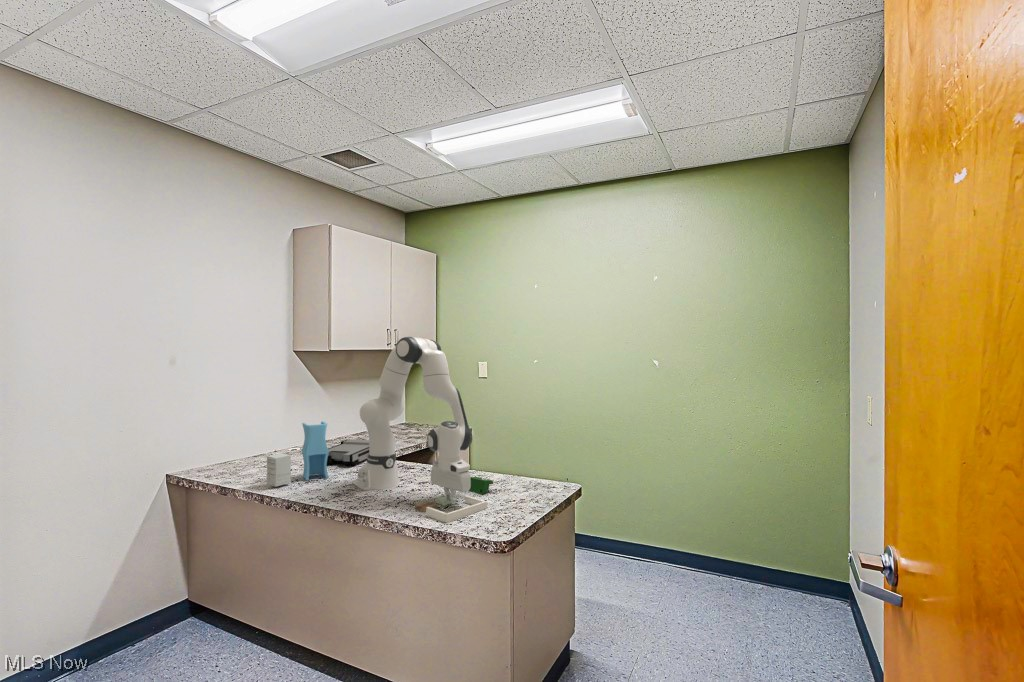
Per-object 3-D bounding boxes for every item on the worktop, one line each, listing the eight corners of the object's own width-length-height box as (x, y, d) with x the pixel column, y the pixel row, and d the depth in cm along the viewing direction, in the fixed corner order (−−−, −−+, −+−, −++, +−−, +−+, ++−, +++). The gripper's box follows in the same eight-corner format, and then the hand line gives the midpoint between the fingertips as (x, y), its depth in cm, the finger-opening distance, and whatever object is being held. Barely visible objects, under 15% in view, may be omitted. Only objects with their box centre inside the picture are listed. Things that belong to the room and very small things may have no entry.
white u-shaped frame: (426, 515, 186) (426, 507, 186) (466, 503, 201) (466, 495, 201) (446, 523, 178) (446, 514, 178) (487, 509, 193) (487, 501, 193)
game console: (314, 466, 261) (315, 450, 261) (346, 453, 292) (346, 439, 292) (352, 468, 257) (352, 452, 257) (380, 455, 288) (380, 440, 288)
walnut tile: (414, 510, 193) (414, 504, 193) (426, 506, 198) (426, 501, 198) (425, 513, 190) (425, 508, 190) (437, 509, 194) (437, 504, 194)
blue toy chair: (323, 472, 247) (323, 421, 248) (328, 477, 239) (328, 423, 239) (301, 475, 242) (302, 422, 242) (306, 480, 234) (306, 425, 234)
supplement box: (281, 480, 233) (282, 453, 233) (291, 483, 229) (291, 455, 229) (266, 484, 227) (266, 455, 227) (275, 487, 223) (275, 458, 223)
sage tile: (435, 503, 201) (435, 498, 202) (448, 500, 205) (448, 495, 205) (444, 507, 197) (444, 501, 197) (456, 504, 201) (456, 498, 201)
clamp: (488, 502, 214) (497, 483, 213) (478, 502, 210) (487, 483, 209) (471, 486, 222) (480, 468, 221) (461, 486, 218) (470, 467, 217)
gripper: (426, 461, 205) (426, 495, 204) (460, 469, 191) (461, 506, 191) (439, 458, 209) (439, 492, 209) (473, 466, 195) (473, 502, 195)
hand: (449, 499), depth 200 cm, fingers closed
